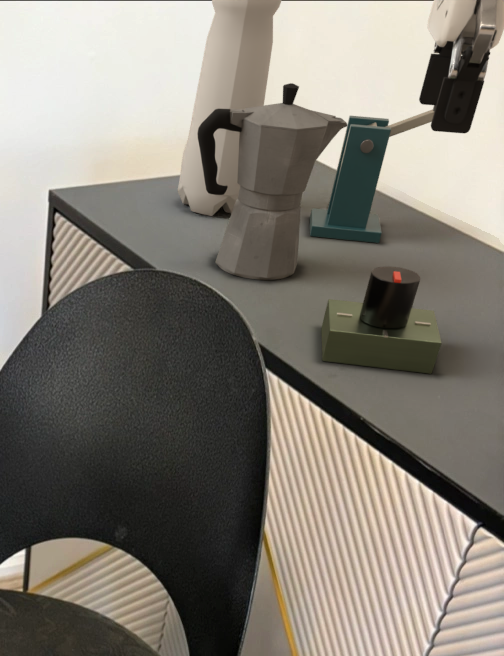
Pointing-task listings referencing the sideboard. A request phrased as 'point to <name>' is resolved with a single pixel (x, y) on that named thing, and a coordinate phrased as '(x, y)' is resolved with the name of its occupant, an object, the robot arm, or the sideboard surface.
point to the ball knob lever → (410, 122)
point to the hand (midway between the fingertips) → (442, 117)
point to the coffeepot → (266, 181)
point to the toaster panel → (379, 339)
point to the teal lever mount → (355, 184)
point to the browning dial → (389, 297)
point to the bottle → (227, 94)
